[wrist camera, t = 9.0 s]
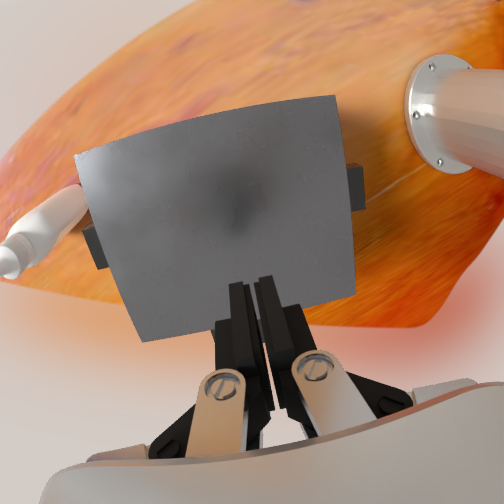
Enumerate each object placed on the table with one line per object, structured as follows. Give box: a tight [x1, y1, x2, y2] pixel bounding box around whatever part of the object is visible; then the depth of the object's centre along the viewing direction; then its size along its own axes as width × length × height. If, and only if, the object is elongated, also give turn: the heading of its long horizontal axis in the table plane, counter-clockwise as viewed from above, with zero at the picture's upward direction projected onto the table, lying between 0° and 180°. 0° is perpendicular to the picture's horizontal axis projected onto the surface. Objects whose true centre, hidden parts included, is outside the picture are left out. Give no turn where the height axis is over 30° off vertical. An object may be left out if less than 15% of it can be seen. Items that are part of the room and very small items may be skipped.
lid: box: [74, 95, 356, 343], centre depth 18 cm, size 15×15×1 cm
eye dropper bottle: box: [0, 184, 88, 279], centre depth 19 cm, size 4×6×12 cm
